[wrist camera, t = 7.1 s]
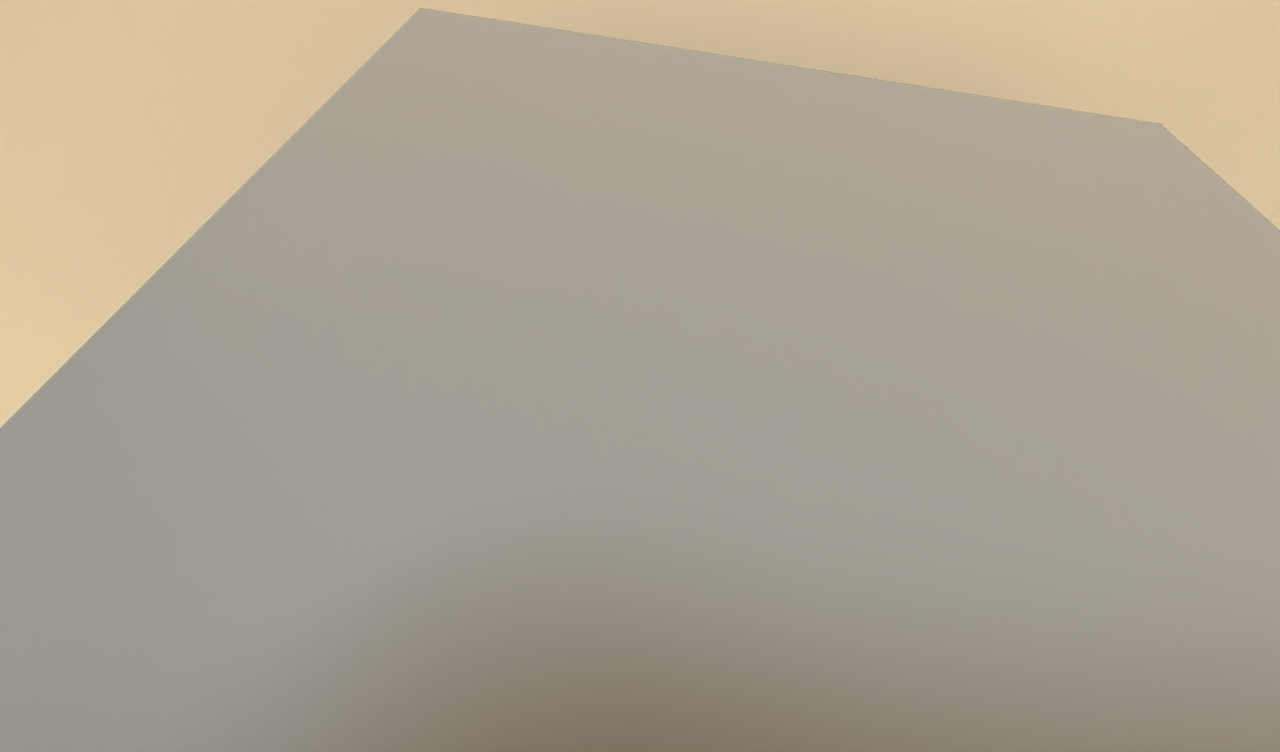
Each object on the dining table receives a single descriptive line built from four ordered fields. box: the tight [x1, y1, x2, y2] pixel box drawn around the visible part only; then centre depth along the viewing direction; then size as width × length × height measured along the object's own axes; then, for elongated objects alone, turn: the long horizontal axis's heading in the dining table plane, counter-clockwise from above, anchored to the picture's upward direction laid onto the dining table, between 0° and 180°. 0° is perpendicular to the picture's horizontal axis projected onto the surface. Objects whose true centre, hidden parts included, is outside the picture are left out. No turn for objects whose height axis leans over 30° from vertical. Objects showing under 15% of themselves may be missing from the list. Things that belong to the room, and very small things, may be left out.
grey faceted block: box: [0, 8, 1280, 752], centre depth 8 cm, size 8×8×9 cm
